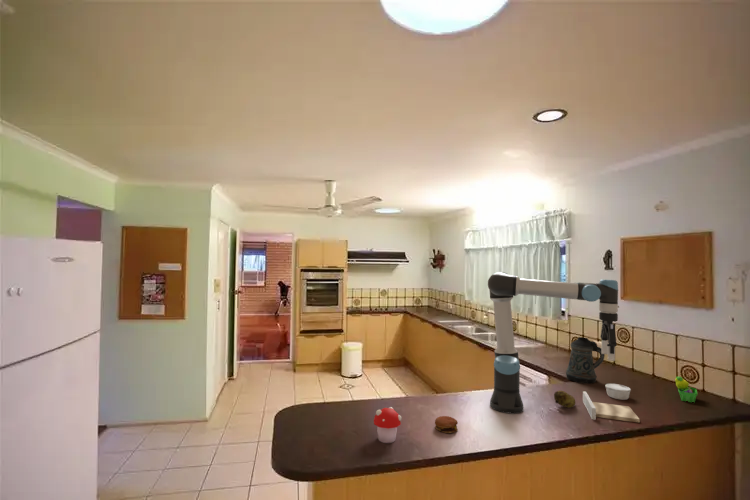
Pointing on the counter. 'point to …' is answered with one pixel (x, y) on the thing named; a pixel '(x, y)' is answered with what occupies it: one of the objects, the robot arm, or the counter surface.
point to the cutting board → (615, 412)
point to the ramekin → (618, 391)
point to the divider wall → (589, 405)
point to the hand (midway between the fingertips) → (607, 357)
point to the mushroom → (387, 424)
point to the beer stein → (583, 361)
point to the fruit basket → (685, 390)
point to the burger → (446, 424)
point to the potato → (564, 399)
